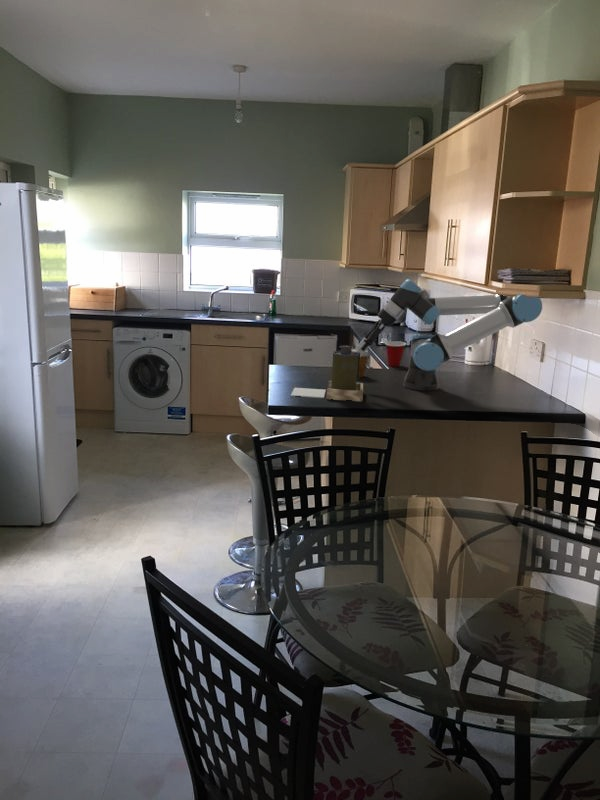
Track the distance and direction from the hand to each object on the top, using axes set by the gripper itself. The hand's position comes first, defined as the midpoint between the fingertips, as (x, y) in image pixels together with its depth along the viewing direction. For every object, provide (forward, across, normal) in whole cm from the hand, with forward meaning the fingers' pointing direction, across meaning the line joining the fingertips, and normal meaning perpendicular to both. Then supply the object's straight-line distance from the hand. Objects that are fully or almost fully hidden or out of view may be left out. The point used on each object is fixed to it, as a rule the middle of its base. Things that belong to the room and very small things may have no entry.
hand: (356, 353), depth 270 cm
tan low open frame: (+15, +14, +5) cm, 21 cm away
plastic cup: (+1, -64, +25) cm, 69 cm away
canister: (+15, +14, +6) cm, 21 cm away
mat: (+23, +14, -6) cm, 27 cm away
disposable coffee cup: (+12, -30, +10) cm, 34 cm away
